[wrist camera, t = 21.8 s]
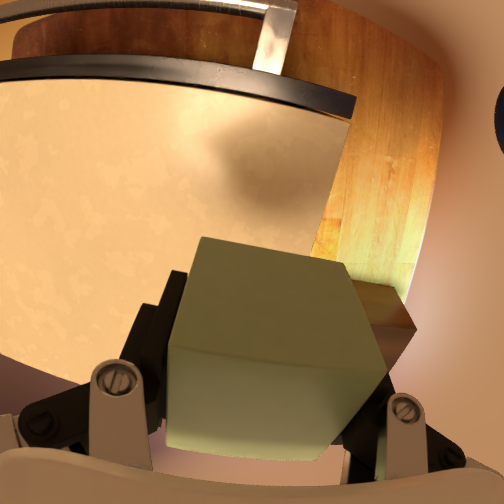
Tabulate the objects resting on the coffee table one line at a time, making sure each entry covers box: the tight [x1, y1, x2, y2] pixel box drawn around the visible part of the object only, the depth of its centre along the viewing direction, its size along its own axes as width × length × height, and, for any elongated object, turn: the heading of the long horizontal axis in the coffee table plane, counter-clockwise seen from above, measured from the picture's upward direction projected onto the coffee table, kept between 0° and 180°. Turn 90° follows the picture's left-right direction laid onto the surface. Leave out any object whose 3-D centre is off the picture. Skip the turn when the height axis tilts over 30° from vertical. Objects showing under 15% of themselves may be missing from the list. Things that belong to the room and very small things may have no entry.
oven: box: [0, 76, 350, 385], centre depth 36 cm, size 32×40×26 cm
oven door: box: [0, 0, 357, 119], centre depth 26 cm, size 8×40×26 cm, turn 78°
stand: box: [351, 280, 417, 373], centre depth 53 cm, size 12×12×12 cm
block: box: [166, 236, 387, 461], centre depth 10 cm, size 5×5×5 cm
